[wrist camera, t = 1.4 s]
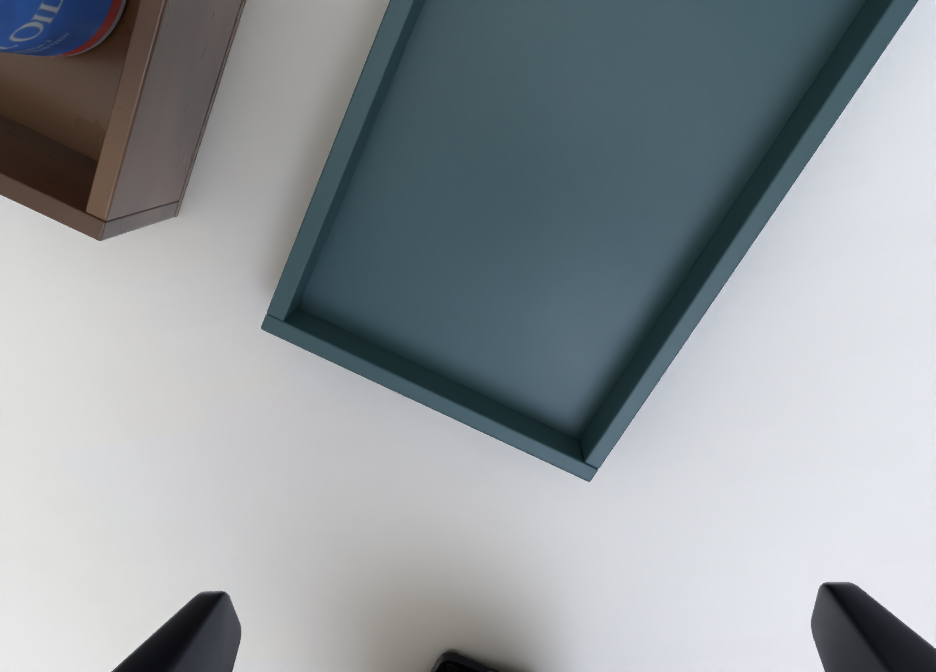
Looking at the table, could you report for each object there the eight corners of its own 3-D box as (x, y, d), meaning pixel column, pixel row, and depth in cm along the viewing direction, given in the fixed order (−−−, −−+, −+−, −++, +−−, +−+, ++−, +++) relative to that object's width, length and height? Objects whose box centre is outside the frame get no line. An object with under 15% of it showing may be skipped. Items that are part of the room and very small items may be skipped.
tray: (582, 452, 23) (589, 483, 21) (280, 310, 21) (259, 329, 20) (944, -94, 16) (1002, -121, 14) (545, -348, 15) (552, -413, 13)
